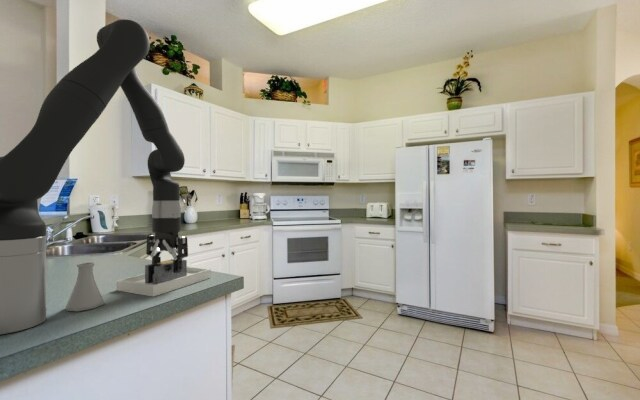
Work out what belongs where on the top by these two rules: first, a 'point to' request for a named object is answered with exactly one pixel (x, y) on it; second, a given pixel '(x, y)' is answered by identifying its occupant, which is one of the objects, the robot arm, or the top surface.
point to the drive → (163, 272)
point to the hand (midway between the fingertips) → (166, 271)
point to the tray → (150, 289)
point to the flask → (85, 290)
